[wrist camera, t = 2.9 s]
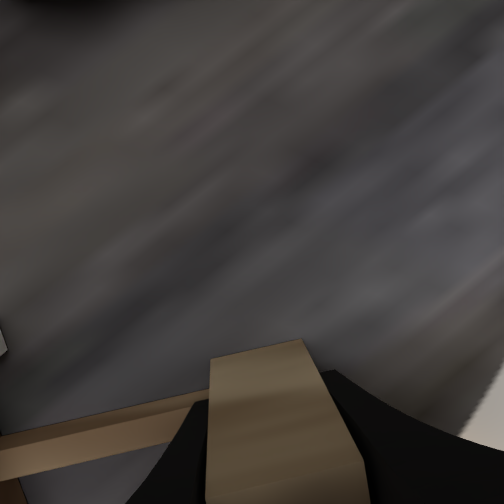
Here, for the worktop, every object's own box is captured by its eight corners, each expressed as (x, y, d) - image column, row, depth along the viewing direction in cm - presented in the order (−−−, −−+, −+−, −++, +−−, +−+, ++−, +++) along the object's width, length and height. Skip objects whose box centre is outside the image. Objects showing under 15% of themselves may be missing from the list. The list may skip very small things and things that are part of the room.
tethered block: (321, 444, 13) (389, 623, 8) (-122, 550, 13) (-370, 823, 7) (296, 309, 12) (356, 413, 7) (-188, 417, 12) (-532, 623, 6)
